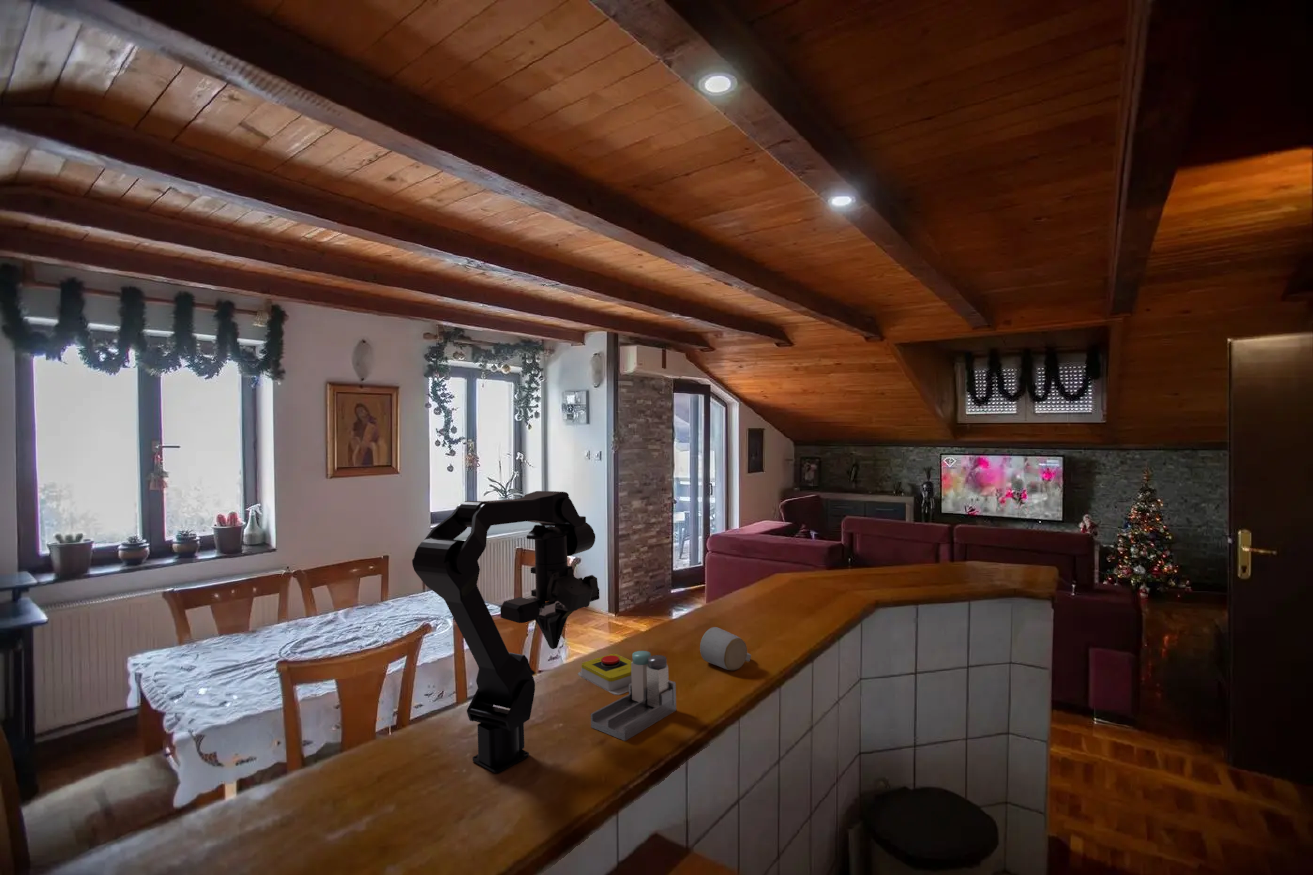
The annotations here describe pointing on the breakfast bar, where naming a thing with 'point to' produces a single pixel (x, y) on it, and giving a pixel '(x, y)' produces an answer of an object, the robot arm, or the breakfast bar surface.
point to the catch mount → (639, 704)
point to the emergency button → (608, 673)
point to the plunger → (639, 674)
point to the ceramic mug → (723, 649)
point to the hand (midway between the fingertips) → (553, 648)
